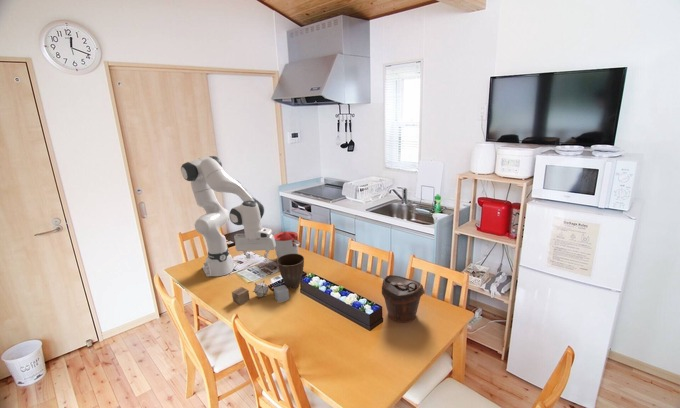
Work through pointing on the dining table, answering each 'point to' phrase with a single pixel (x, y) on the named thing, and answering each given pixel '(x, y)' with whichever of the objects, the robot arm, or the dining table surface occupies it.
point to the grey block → (281, 293)
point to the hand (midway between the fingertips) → (257, 257)
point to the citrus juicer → (286, 243)
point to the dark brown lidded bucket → (401, 297)
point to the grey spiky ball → (261, 289)
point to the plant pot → (291, 269)
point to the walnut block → (240, 296)
